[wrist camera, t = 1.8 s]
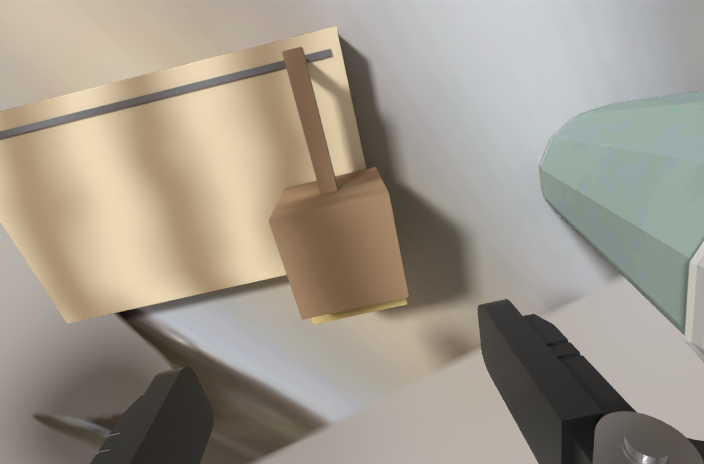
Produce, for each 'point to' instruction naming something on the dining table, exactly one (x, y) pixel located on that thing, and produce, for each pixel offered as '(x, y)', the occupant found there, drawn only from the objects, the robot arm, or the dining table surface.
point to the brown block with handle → (335, 227)
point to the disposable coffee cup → (639, 197)
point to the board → (167, 176)
